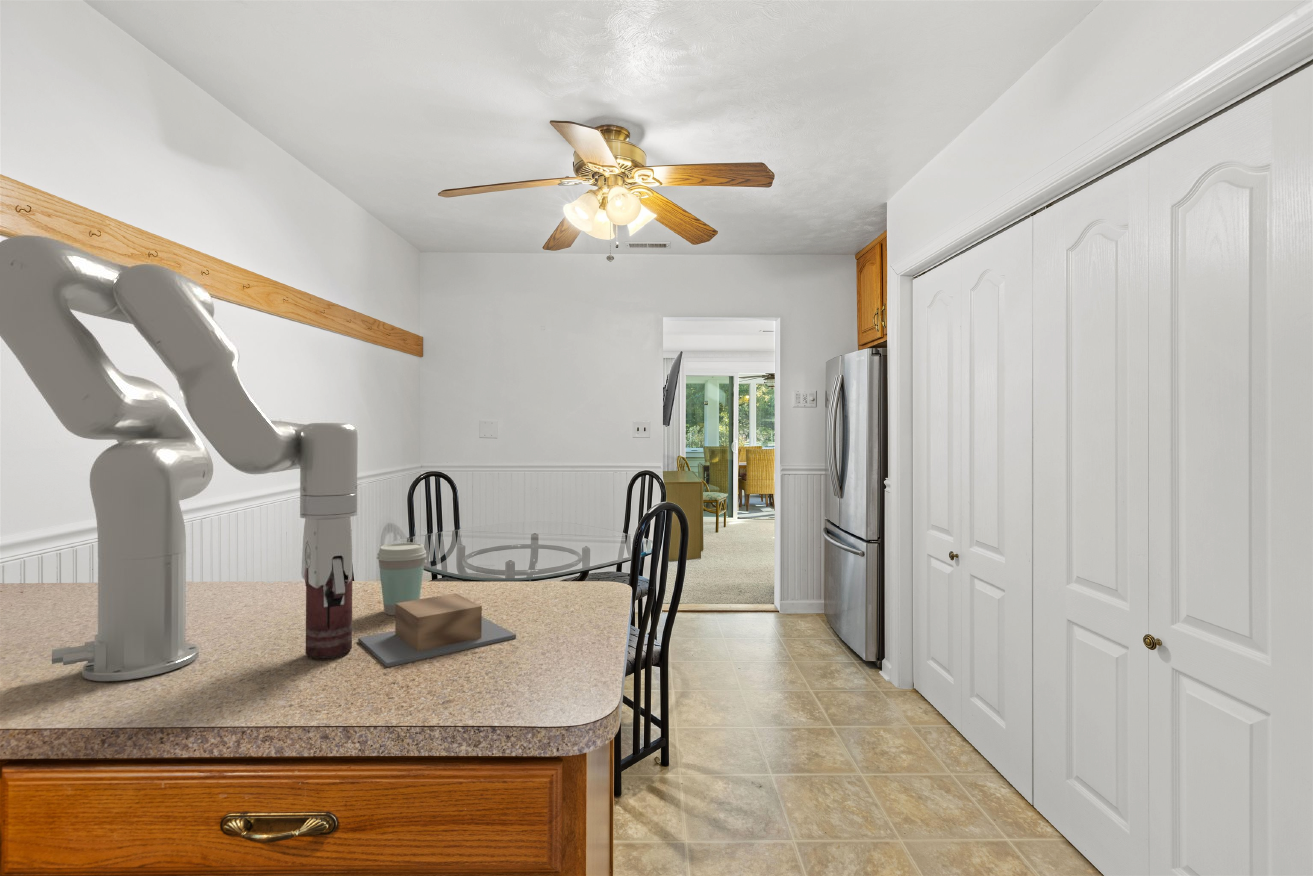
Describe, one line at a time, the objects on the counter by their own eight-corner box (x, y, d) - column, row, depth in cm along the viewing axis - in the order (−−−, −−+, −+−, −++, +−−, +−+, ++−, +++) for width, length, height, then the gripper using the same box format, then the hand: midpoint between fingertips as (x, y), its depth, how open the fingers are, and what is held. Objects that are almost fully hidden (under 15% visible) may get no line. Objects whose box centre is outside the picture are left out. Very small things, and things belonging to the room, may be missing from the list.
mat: (387, 667, 88) (387, 662, 88) (358, 641, 99) (358, 637, 98) (516, 638, 101) (516, 634, 101) (478, 618, 112) (478, 614, 112)
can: (305, 650, 94) (306, 557, 94) (352, 644, 97) (352, 554, 97) (301, 663, 89) (302, 565, 89) (351, 657, 92) (352, 561, 91)
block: (417, 651, 93) (418, 617, 93) (395, 634, 100) (395, 603, 100) (481, 637, 99) (481, 606, 99) (455, 622, 107) (455, 593, 107)
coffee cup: (434, 605, 119) (434, 542, 119) (412, 618, 111) (412, 550, 111) (391, 603, 120) (391, 541, 120) (366, 616, 112) (367, 549, 112)
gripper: (288, 502, 97) (287, 621, 97) (314, 513, 84) (313, 650, 84) (341, 499, 102) (340, 613, 102) (372, 509, 89) (371, 638, 89)
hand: (328, 628), depth 93 cm, fingers open, 3 cm apart
